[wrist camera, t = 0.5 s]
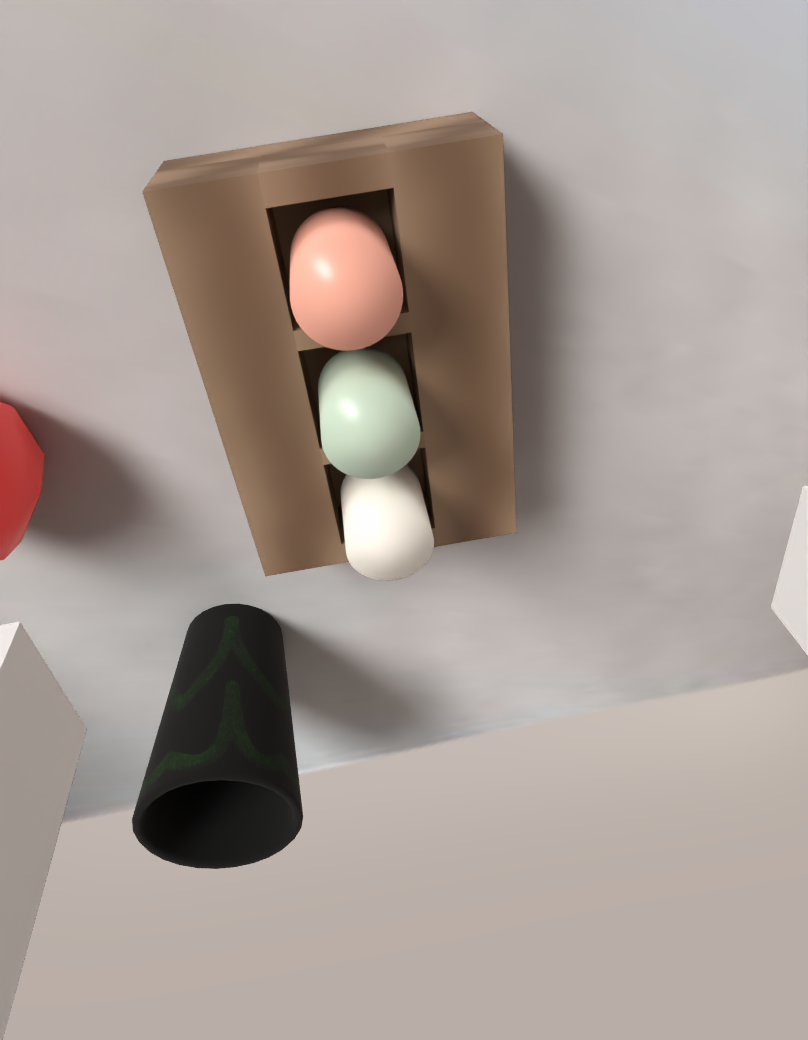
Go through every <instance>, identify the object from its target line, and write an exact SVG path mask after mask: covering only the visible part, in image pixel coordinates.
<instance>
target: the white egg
mask: <svg viewBox="0 0 808 1040" xmlns="http://www.w3.org/2000/svg"><path fill="white" fill-rule="evenodd" d="M341 505H342V515H343V526H344V537H345V547H346V555H347V558H348V561H349V563H350V564H351V565H352V567H353V568H354V569H355V570H356V571H357V572H359V573H360V574H362V575H364V576H366V577H368V578H371V579H375V580H383V581H390V580H397V579H402V578H405V577H407V576H410V575H412V574H414V573H415V572H417V571H418V570H420V569H421V568H422V567H423V566H424V565H425V564H426V563H427V562H428V560H429V559H430V557H431V555H432V552H433V549H434V537H433V533H432V529H431V525H430V521H429V517H428V513H427V509H426V505H425V501H424V498H423V494H422V490H421V486H420V482H419V479H418V476H417V475H416V473H415V472H414V470H413V469H412V468H411V467H410V466H409V465H407V464H406V465H405V466H404V467H403V468H401V469H400V470H398V471H397V472H395V473H393V474H391V475H388V476H385V477H381V478H375V479H362V478H356V477H352V476H350V475H346V476H345V478H344V480H343V482H342V485H341Z"/></svg>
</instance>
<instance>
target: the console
mask: <svg viewBox="0 0 808 1040" xmlns="http://www.w3.org/2000/svg"><path fill="white" fill-rule="evenodd" d="M143 195H144V198H145V201H146V205H147V208H148V211H149V214H150V217H151V220H152V223H153V226H154V230H155V233H156V236H157V239H158V242H159V245H160V248H161V251H162V255H163V258H164V261H165V264H166V267H167V270H168V273H169V276H170V280H171V283H172V286H173V289H174V292H175V295H176V298H177V301H178V305H179V308H180V311H181V314H182V317H183V320H184V323H185V326H186V330H187V333H188V336H189V339H190V342H191V345H192V348H193V351H194V355H195V358H196V361H197V364H198V367H199V370H200V373H201V376H202V380H203V383H204V386H205V389H206V392H207V395H208V398H209V401H210V405H211V408H212V411H213V414H214V417H215V420H216V423H217V426H218V430H219V433H220V436H221V439H222V442H223V445H224V448H225V451H226V455H227V458H228V461H229V464H230V467H231V470H232V473H233V476H234V480H235V483H236V486H237V489H238V492H239V495H240V498H241V501H242V505H243V508H244V511H245V514H246V517H247V520H248V523H249V526H250V530H251V533H252V536H253V539H254V542H255V545H256V548H257V551H258V555H259V558H260V561H261V564H262V567H263V570H264V573H265V576H270V575H275V574H281V573H287V572H293V571H298V570H304V569H310V568H316V567H321V566H327V565H333V564H339V563H344V562H349V561H348V558H347V555H346V547H345V537H344V526H343V515H342V505H341V485H342V482H343V480H344V478H345V476H346V475H347V474H345V473H343V472H341V471H340V470H338V469H337V468H336V467H335V466H333V465H332V463H331V462H330V461H329V460H328V458H327V457H326V455H325V453H324V450H323V447H322V442H321V428H320V413H319V397H318V382H319V377H320V374H321V372H322V369H323V368H324V366H325V365H326V363H327V362H328V361H329V360H330V359H331V358H332V357H333V356H334V355H336V354H337V353H339V352H341V351H342V350H335V349H331V348H328V347H325V346H323V345H321V344H319V343H317V342H315V341H314V340H313V339H311V338H310V337H309V336H308V335H307V334H306V333H305V332H304V331H303V330H302V329H301V327H300V326H299V324H298V323H297V321H296V319H295V317H294V315H293V312H292V308H291V303H290V250H291V244H292V240H293V238H294V235H295V233H296V231H297V230H298V228H299V227H300V225H301V224H302V223H303V222H304V221H305V220H306V219H307V218H308V217H309V216H310V215H312V214H313V213H315V212H317V211H319V210H322V209H324V208H328V207H334V206H345V207H351V208H354V209H357V210H359V211H361V212H363V213H365V214H367V215H368V216H370V217H371V218H372V219H373V220H374V221H375V222H376V223H377V224H378V225H379V227H380V228H381V230H382V231H383V233H384V235H385V237H386V240H387V242H388V245H389V248H390V251H391V253H392V256H393V259H394V262H395V264H396V267H397V270H398V273H399V275H400V278H401V282H402V287H403V303H402V308H401V312H400V315H399V317H398V319H397V321H396V323H395V325H394V326H393V328H392V329H391V330H390V331H389V332H388V334H387V335H385V336H384V337H383V338H382V339H381V340H379V341H378V342H376V343H374V344H372V345H371V346H372V347H376V348H380V349H382V350H384V351H386V352H388V353H389V354H391V355H392V356H393V357H394V358H395V359H396V360H397V361H398V362H399V363H400V365H401V366H402V368H403V370H404V373H405V376H406V379H407V383H408V386H409V390H410V393H411V397H412V400H413V404H414V407H415V411H416V414H417V418H418V421H419V425H420V442H419V446H418V448H417V451H416V453H415V454H414V456H413V457H412V459H411V460H410V461H409V462H408V463H407V465H409V466H410V467H411V468H412V469H413V470H414V472H415V473H416V475H417V476H418V479H419V482H420V486H421V490H422V494H423V498H424V501H425V505H426V509H427V513H428V517H429V521H430V525H431V529H432V533H433V537H434V547H436V546H442V545H448V544H453V543H459V542H465V541H471V540H476V539H482V538H488V537H494V536H499V535H505V534H511V533H516V506H515V476H514V447H513V418H512V389H511V360H510V331H509V302H508V273H507V244H506V214H505V185H504V156H503V134H502V133H501V132H499V131H498V130H497V129H495V128H494V127H492V126H491V125H490V124H488V123H487V122H486V121H484V120H483V119H482V118H480V117H479V116H477V115H476V114H475V113H473V112H470V113H464V114H457V115H451V116H445V117H438V118H432V119H426V120H420V121H413V122H407V123H401V124H394V125H388V126H382V127H376V128H369V129H363V130H357V131H350V132H344V133H338V134H332V135H325V136H319V137H313V138H306V139H300V140H294V141H288V142H281V143H275V144H269V145H262V146H256V147H250V148H244V149H237V150H231V151H225V152H218V153H212V154H206V155H200V156H193V157H187V158H181V159H174V160H168V161H164V162H163V163H162V165H161V166H160V167H159V169H158V170H157V172H156V173H155V175H154V176H153V177H152V179H151V180H150V182H149V183H148V184H147V186H146V187H145V189H144V190H143Z"/></svg>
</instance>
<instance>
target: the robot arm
mask: <svg viewBox="0 0 808 1040" xmlns="http://www.w3.org/2000/svg"><path fill="white" fill-rule="evenodd" d="M771 608H772V610H773V611H774V612H775V614H776V615H777V616H778V617H779V619H780V620H781V621H782V623H783V624H784V625H785V627H786V628H787V629H788V631H789V632H790V633H791V634H792V636H793V637H794V638H795V640H796V641H797V642H798V644H799V645H800V646H801V647H802V649H803V650H804V651H805V653H806V654H807V655H808V486H803V488H802V492H801V496H800V499H799V503H798V507H797V511H796V514H795V518H794V522H793V526H792V529H791V533H790V537H789V541H788V544H787V548H786V552H785V556H784V559H783V563H782V567H781V571H780V574H779V578H778V582H777V586H776V589H775V593H774V597H773V601H772V604H771ZM86 730H87V728H86V727H85V725H84V724H83V722H82V720H81V719H80V717H79V715H78V714H77V712H76V711H75V709H74V707H73V706H72V704H71V703H70V701H69V699H68V698H67V696H66V695H65V693H64V691H63V690H62V688H61V687H60V685H59V683H58V682H57V680H56V679H55V677H54V675H53V674H52V672H51V671H50V669H49V667H48V666H47V664H46V663H45V661H44V659H43V658H42V656H41V655H40V653H39V651H38V650H37V648H36V646H35V645H34V643H33V642H32V640H31V638H30V637H29V635H28V634H27V632H26V630H25V629H24V627H23V626H22V624H21V622H16V623H10V624H4V625H0V1040H3V1037H4V1034H5V1030H6V1026H7V1022H8V1019H9V1015H10V1011H11V1008H12V1004H13V1000H14V997H15V993H16V989H17V986H18V982H19V978H20V974H21V971H22V966H23V963H24V960H25V956H26V952H27V948H28V945H29V941H30V937H31V934H32V930H33V926H34V923H35V919H36V915H37V911H38V908H39V904H40V900H41V897H42V893H43V889H44V886H45V882H46V878H47V875H48V871H49V867H50V863H51V860H52V856H53V852H54V848H55V844H56V841H57V837H58V834H59V830H60V826H61V823H62V819H63V815H64V812H65V808H66V804H67V801H68V797H69V793H70V789H71V786H72V782H73V778H74V775H75V771H76V767H77V764H78V760H79V756H80V752H81V749H82V745H83V741H84V738H85V734H86Z"/></svg>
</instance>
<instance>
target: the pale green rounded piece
mask: <svg viewBox="0 0 808 1040" xmlns="http://www.w3.org/2000/svg"><path fill="white" fill-rule="evenodd" d="M318 397H319V413H320V428H321V442H322V447H323V450H324V453H325V455H326V457H327V458H328V460H329V461H330V462H331V463H332V465H333V466H335V467H336V468H337V469H338V470H340V471H341V472H343V473H345V474H347V475H350V476H352V477H356V478H362V479H375V478H381V477H385V476H388V475H391V474H393V473H395V472H397V471H398V470H400V469H401V468H403V467H404V466H405V465H406V464H407V463H408V462H409V461H410V460H411V459H412V457H413V456H414V454H415V453H416V451H417V448H418V446H419V442H420V425H419V421H418V418H417V414H416V411H415V407H414V404H413V400H412V397H411V393H410V390H409V386H408V383H407V379H406V376H405V373H404V370H403V368H402V366H401V365H400V363H399V362H398V361H397V360H396V359H395V358H394V357H393V356H392V355H391V354H389V353H388V352H386V351H384V350H382V349H380V348H376V347H372V346H368V347H365V348H362V349H358V350H351V351H341V352H339V353H337V354H336V355H334V356H333V357H332V358H331V359H330V360H329V361H328V362H327V363H326V365H325V366H324V368H323V369H322V372H321V374H320V377H319V382H318Z"/></svg>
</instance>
